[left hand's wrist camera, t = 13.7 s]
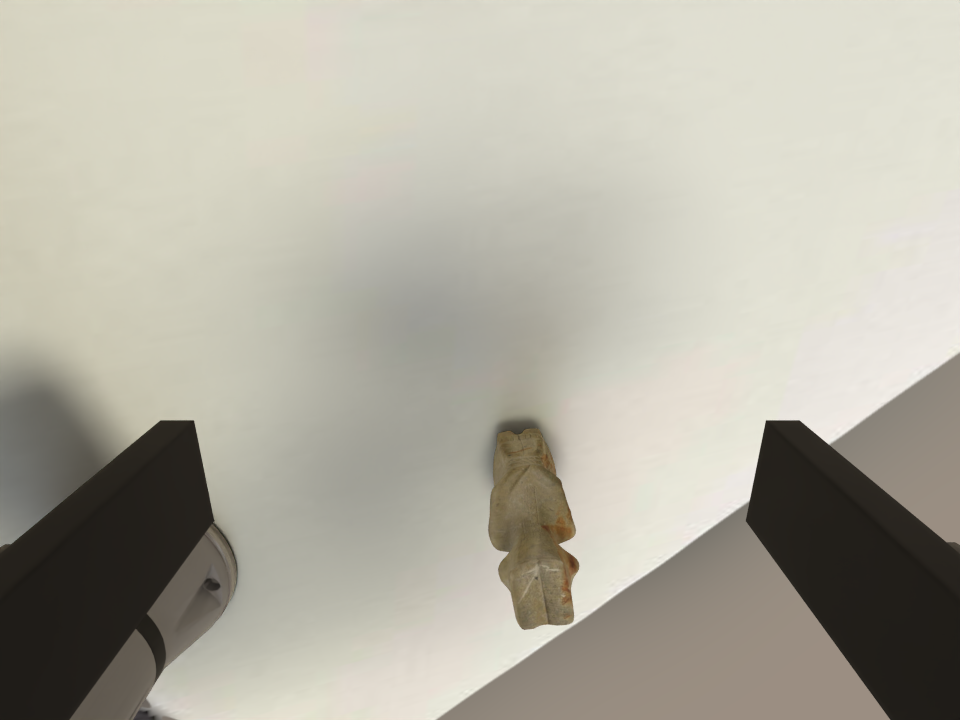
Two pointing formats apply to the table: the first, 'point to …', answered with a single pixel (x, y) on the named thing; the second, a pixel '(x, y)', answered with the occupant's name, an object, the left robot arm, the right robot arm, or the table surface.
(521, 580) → the sculpture
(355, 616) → the table surface
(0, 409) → the table surface
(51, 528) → the left robot arm
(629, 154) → the table surface
